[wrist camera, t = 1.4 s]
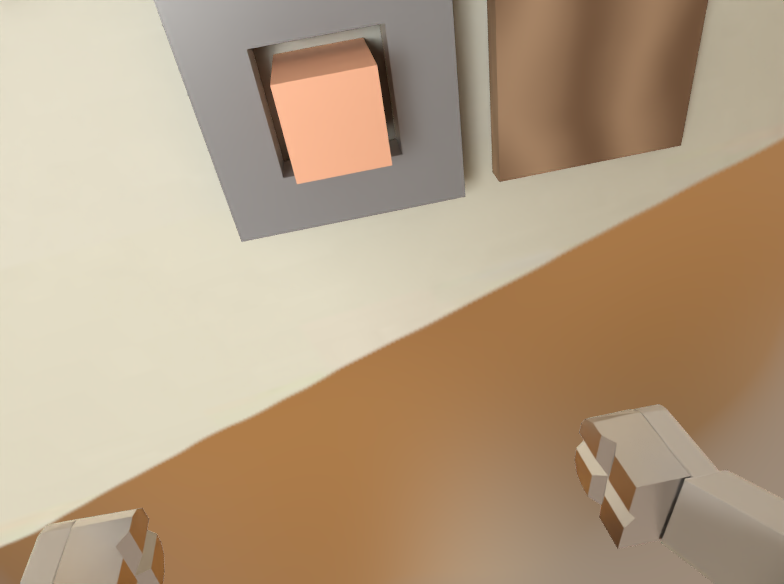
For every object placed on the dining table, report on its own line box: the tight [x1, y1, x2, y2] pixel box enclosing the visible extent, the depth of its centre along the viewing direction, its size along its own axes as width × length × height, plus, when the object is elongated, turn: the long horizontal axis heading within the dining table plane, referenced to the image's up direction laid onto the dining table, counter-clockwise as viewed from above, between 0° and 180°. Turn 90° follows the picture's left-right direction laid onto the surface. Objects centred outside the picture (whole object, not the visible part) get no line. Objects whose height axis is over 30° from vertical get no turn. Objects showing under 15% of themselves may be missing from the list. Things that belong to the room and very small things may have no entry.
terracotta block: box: [270, 38, 392, 184], centre depth 29 cm, size 5×5×6 cm
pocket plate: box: [154, 0, 465, 242], centre depth 30 cm, size 14×14×2 cm
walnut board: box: [487, 0, 708, 182], centre depth 31 cm, size 12×16×2 cm
